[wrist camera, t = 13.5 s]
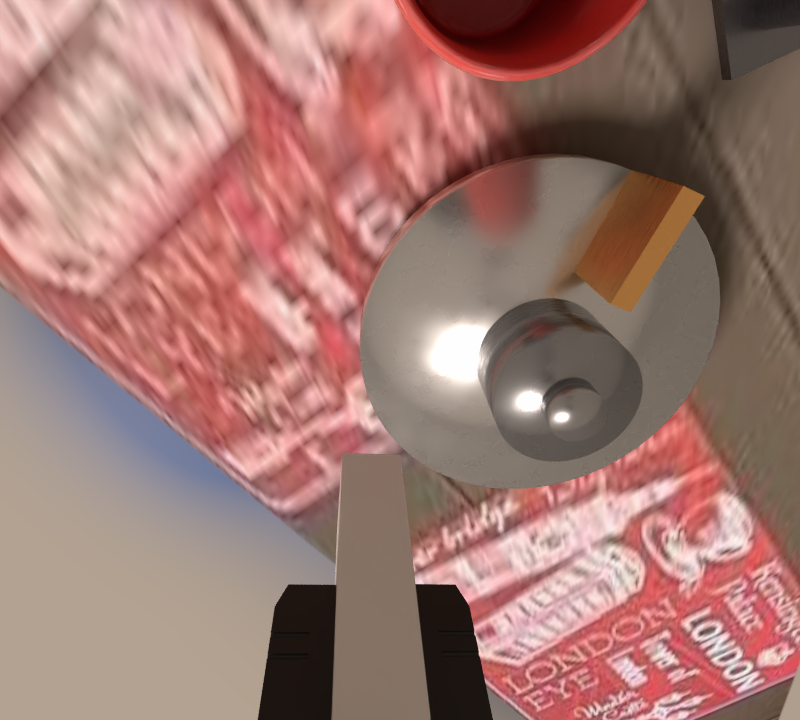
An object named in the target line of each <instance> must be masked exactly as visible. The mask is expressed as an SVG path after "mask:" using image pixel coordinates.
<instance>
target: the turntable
mask: <svg viewBox="0 0 800 720" xmlns="http://www.w3.org/2000/svg"><path fill="white" fill-rule="evenodd" d="M704 197H705V196H703V195H701V194H699V193H697V192H695V191H693V190H691V189H689V188H687V187H685V186H682V185H679V184H676V183H673V182H670V181H667V180H663V179H660V178H657V177H654V176H651V175H648V174H645V173H642V172H638V171H635V170H630V169H627V168H625V167H622V166H620V165H617V164H613V163H610V162H607V161H604V160H600V159H595V158H591V157H586V156H581V155H572V154H556V153H552V154H539V155H527V156H523V157H518V158H514V159H509V160H505V161H501V162H498V163H495V164H492V165H490V166H487V167H484V168H481V169H479V170H476V171H474V172H472V173H470V174H468V175H467V176H465V177H463V178H461V179H459V180H457V181H455V182H453V183H452V184H450V185H449V186H447V187H446V188H444V189H443V190H441V191H440V192H439V193H437V194H436V195H434V196H433V197H431V198H430V199H429V200H428V201H427V202H426V203H425V204H424V205H422V206H421V207H420V208H419V209H418V210H417V211H416V212H415V213H414V214H412V216H411V217H410V218H409V219H408V220H407V221H406V222H405V224H404V225H403V226H402V227H401V228H400V229H399V231H398V232H397V233H396V234H395V236H394V237H393V239H392V240H391V242H390V243H389V245H388V246H387V248H386V249H385V251H384V252H383V254H382V256H381V258H380V260H379V262H378V264H377V266H376V268H375V270H374V272H373V274H372V276H371V280H370V283H369V286H368V289H367V292H366V295H365V298H364V304H363V309H362V315H361V327H360V358H361V367H362V376H363V379H364V383H365V387H366V390H367V394H368V397H369V399H370V401H371V404H372V406H373V408H374V411H375V413H376V415H377V416H378V418H379V419H380V421H381V423H382V424H383V426H384V427H385V429H386V430H387V431H388V433H389V434H390V435H391V436H392V437H393V438H394V440H395V441H396V442H397V443H398V444H399V445H400V446H401V447H402V448H403V449H404V450H406V451H407V452H408V453H409V454H410V455H411V456H412V457H414V458H415V459H417V460H418V461H420V462H421V463H423V464H424V465H426V466H427V467H429V468H431V469H433V470H435V471H437V472H439V473H441V474H443V475H445V476H448V477H451V478H453V479H456V480H459V481H462V482H466V483H470V484H474V485H479V486H484V487H493V488H511V489H522V488H532V487H542V486H547V485H552V484H557V483H562V482H565V481H569V480H572V479H575V478H579V477H582V476H584V475H587V474H589V473H592V472H594V471H596V470H599V469H601V468H603V467H605V466H607V465H609V464H611V463H613V462H615V461H617V460H618V459H620V458H622V457H623V456H625V455H626V454H628V453H629V452H631V451H632V450H634V449H636V448H637V447H638V446H640V445H641V444H642V443H643V442H645V441H646V440H647V439H648V438H650V437H651V436H652V435H653V434H655V433H656V432H657V431H658V430H659V429H660V428H661V427H662V426H663V425H664V424H665V423H666V422H667V421H668V420H669V419H670V418H671V417H672V415H673V414H674V413H675V412H676V411H677V409H678V408H679V407H680V406H681V405H682V403H683V402H684V401H685V399H686V398H687V396H688V395H689V393H690V392H691V390H692V389H693V387H694V386H695V384H696V383H697V381H698V379H699V377H700V375H701V373H702V371H703V369H704V367H705V365H706V363H707V360H708V357H709V355H710V352H711V349H712V346H713V344H714V339H715V335H716V331H717V326H718V322H719V311H720V285H719V276H718V271H717V266H716V262H715V257H714V255H713V252H712V250H711V247H710V245H709V242H708V239H707V237H706V235H705V234H704V232H703V230H702V229H701V227H700V225H699V224H698V222H697V220H696V219H695V217H694V216H693V214H694V213H695V211H696V209H697V208H698V206H699V205H700V203H701V202H702V200H703V198H704ZM546 298H556V299H563V300H568V301H571V302H574V303H576V304H578V305H580V306H582V307H583V308H585V309H586V310H588V311H589V312H590V313H591V314H592V315H593V316H594V317H595V318H596V319H597V320H598V321H599V322H600V323H601V324H602V325H603V326H604V327H605V328H606V329H607V330H608V331H609V332H610V333H611V334H612V335H613V336H614V337H615V338H616V339H617V340H618V341H619V342H620V343H621V344H622V345H623V346H624V347H625V348H626V349H627V350H628V351H629V352H630V353H631V354H632V356H633V357H634V358H635V360H636V361H637V364H638V366H639V368H640V371H641V374H642V381H643V392H642V397H641V402H640V405H639V407H638V410H637V412H636V414H635V416H634V418H633V419H632V421H631V422H630V424H629V425H628V426H627V428H626V429H625V430H624V431H623V432H622V433H621V434H620V435H619V436H618V437H617V438H616V439H615V440H613V441H612V442H611V443H610V444H608V445H607V446H605V447H604V448H602V449H600V450H598V451H596V452H594V453H592V454H590V455H587V456H585V457H581V458H578V459H574V460H569V461H560V462H549V461H541V460H537V459H533V458H530V457H527V456H525V455H523V454H521V453H519V452H518V451H516V450H515V449H514V448H512V447H511V446H510V445H509V444H508V443H507V442H506V441H505V439H504V438H503V437H502V435H501V433H500V431H499V429H498V427H497V424H496V422H495V419H494V417H493V414H492V412H491V409H490V407H489V404H488V402H487V399H486V397H485V394H484V392H483V389H482V387H481V384H480V382H479V379H478V375H477V355H478V351H479V348H480V344H481V342H482V340H483V338H484V336H485V335H486V333H487V332H488V330H489V329H490V328H491V326H492V325H493V324H494V323H495V322H496V321H497V320H498V319H499V318H500V317H501V316H503V315H504V314H505V313H507V312H508V311H510V310H511V309H513V308H515V307H517V306H519V305H521V304H523V303H526V302H529V301H533V300H538V299H546Z"/></svg>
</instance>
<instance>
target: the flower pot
mask: <svg viewBox="0 0 800 720" xmlns="http://www.w3.org/2000/svg"><path fill="white" fill-rule="evenodd" d="M395 2H396V4H397V6H398V8H399V9H400V11H401V13H402V15H403V16H404V18H405V19H406V21H407V22H408V24H409V25H410V27H411V28H412V29H413V31H414V32H415V33H416V34H417V36H418V37H419V38H420V39H421V40H422V41H423V42H424V43H425V44H426V45H427V46H428V47H429V48H430V49H431V50H432V51H433V52H434V53H436V54H437V55H438V56H439V57H441V58H442V59H443V60H445V61H446V62H448V63H449V64H451V65H453V66H455V67H456V68H458V69H460V70H462V71H464V72H467V73H469V74H472V75H475V76H478V77H482V78H486V79H490V80H497V81H526V80H532V79H538V78H542V77H546V76H549V75H552V74H555V73H558V72H560V71H563V70H566V69H568V68H570V67H572V66H574V65H576V64H578V63H580V62H581V61H583V60H585V59H586V58H588V57H589V56H591V55H593V54H594V53H596V52H597V51H599V50H600V49H601V48H603V47H604V46H605V45H606V44H608V43H609V42H610V41H611V40H612V39H614V38H615V37H616V36H617V35H618V34H619V33H620V32H621V31H622V30H623V29H624V28H625V27H626V26H627V25H628V24H629V23H630V22H631V21H632V20H633V19H634V17H635V16H636V15H637V14H638V13H639V11H640V10H641V9H642V7H643V6H644V5H645V3H646V2H647V0H395Z"/></svg>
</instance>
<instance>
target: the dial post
mask: <svg viewBox="0 0 800 720" xmlns="http://www.w3.org/2000/svg"><path fill="white" fill-rule="evenodd" d="M712 4H713V12H714V19H715V27H716V34H717V42H718V49H719V57H720V64H721V72H722V79H723V80H732V79H734V78H737V77H739V76H741V75H743V74H745V73H747V72H749V71H752V70H754V69H756V68H758V67H760V66H762V65H765V64H767V63H769V62H771V61H773V60H775V59H778V58H780V57H782V56H784V55H786V54H788V53H791V52H793V51H795V50H797V49H799V48H800V0H712Z"/></svg>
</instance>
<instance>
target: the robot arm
mask: <svg viewBox="0 0 800 720" xmlns="http://www.w3.org/2000/svg"><path fill="white" fill-rule="evenodd" d="M478 652H479V651H478V646H477V641H476V636H475V635H474V627H473V622H472V617H471V612H470V607H469V605H468V603H467V602H466V600H465V599H464V597H463V596H462V594H461V593H460V591H459V590H458V588H457V587H456V585H435V584H415V577H414V568H413V559H412V550H411V541H410V532H409V524H408V515H407V506H406V497H405V488H404V479H403V471H402V462H401V455H386V454H358V453H342V464H341V479H340V495H339V511H338V526H337V548H336V572H335V585H288V586H287V588H286V589H285V591H284V593H283V594H282V596H281V597H280V599H279V601H278V602H277V604H276V606H275V609H274V616H273V623H272V630H271V637H270V643H269V650H268V658H267V663H266V669H265V676H264V682H263V690H262V696H261V702H260V709H259V716H258V720H493V718H492V713H491V708H490V704H489V699H488V694H487V689H486V684H485V680H484V675H483V670H482V665H481V660H480V657H479V654H478Z"/></svg>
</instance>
